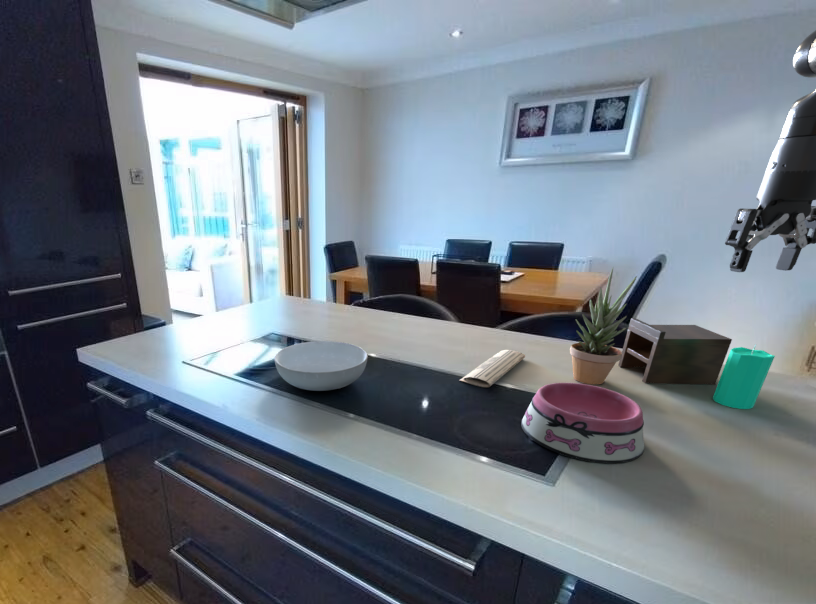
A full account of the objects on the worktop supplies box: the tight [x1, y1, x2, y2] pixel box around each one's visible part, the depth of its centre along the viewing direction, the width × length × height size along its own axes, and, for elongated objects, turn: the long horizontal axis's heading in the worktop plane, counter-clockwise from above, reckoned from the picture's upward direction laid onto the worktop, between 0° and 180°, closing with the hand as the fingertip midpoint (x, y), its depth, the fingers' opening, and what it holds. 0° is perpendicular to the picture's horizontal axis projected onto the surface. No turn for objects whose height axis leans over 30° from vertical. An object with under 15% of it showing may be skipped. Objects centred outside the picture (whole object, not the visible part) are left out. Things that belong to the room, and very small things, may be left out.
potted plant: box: [569, 267, 638, 385], centre depth 94 cm, size 10×10×25 cm
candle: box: [712, 344, 776, 410], centre depth 84 cm, size 6×6×12 cm
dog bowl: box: [520, 382, 645, 464], centre depth 76 cm, size 18×19×7 cm
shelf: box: [618, 317, 733, 386], centre depth 98 cm, size 14×11×12 cm
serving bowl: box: [274, 340, 368, 392], centre depth 100 cm, size 21×21×7 cm
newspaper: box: [458, 349, 526, 388], centre depth 106 cm, size 24×7×2 cm, turn 138°
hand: (760, 270), depth 78 cm, fingers open, 8 cm apart
